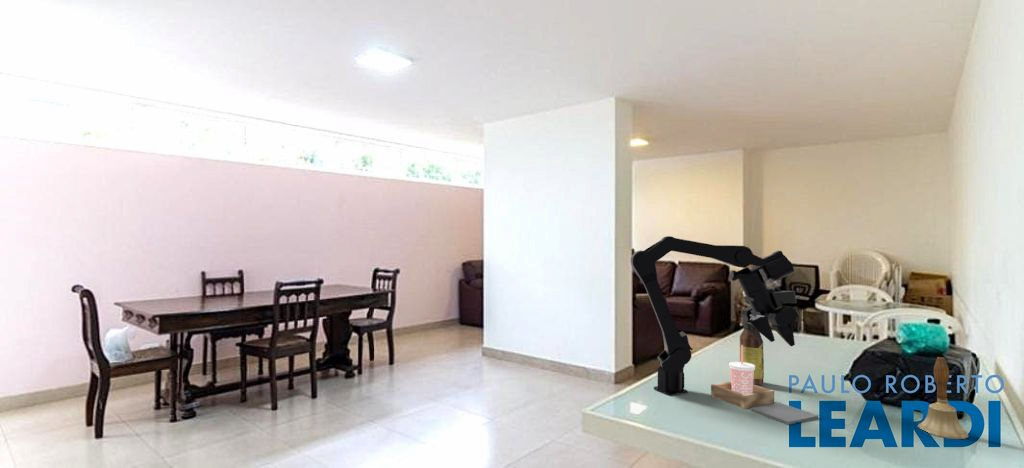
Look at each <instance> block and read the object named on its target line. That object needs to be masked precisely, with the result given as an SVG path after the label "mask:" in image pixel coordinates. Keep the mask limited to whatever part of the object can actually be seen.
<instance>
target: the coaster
mask: <svg viewBox="0 0 1024 468" xmlns="http://www.w3.org/2000/svg"><path fill="white" fill-rule="evenodd" d="M750 411H751V412H754V413H757V414H759V415H762V416H764V417H768V418H770V419H772V420H776V421H777V422H780V423H783V424H786V425H794V424H797V423H796V422H799V423H802V422H807V421H808V422H809V421H813V420H816V419H819V415H818V414H815V413H811V412H808V411H806V410H803V409H800V408H796V407H793V406H791V405H788V404H785V403H782V402H775V403H771V404H766V405H760V406H755V407H750Z"/></svg>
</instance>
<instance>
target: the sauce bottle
mask: <svg viewBox="0 0 1024 468" xmlns="http://www.w3.org/2000/svg"><path fill="white" fill-rule="evenodd" d="M761 335H762V334H761V333H760V332H759V331H758V330H756V329H755V328H754V327H753V326H751V325H750V324H749V323H747V321H745V320H743V330H742V332H741V333H740V335H739V346H738V347H739V362H741V345H743V362H746V363H751V364H754V365H755V370H754V377H753V384H754V385H757V386H760V385H763V384H764V378H765V368H764V367H765V364H764V361H765V360H764V359H765V358H764V356H765V355H764V354H765V353H764V340H763V338H762V336H761Z"/></svg>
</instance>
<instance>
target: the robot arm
mask: <svg viewBox="0 0 1024 468" xmlns="http://www.w3.org/2000/svg"><path fill="white" fill-rule="evenodd" d="M670 252H676V253H683V254H688V255H693V256H699V257H704V258H709V259H712V260H715V261H718V262H721V263H723V264H726V265H730V266H731V267H734V268H735V267H737V268H742V269H740V270H737V271H736V270H731V271H730V275H729V277H728V280H729V281H733V282H735V281H738V282H739V285H740V287H741V290H742V291H743V292H744V294H745V295H744V296H743V299H744V301H746V302H747V301H748V302H749V306H747V307H745V308H742V309H741V312H740V316H741V318H742V320H743V321H744V320H745V321H747V323H749V324H750V325H751V326H753V327H754V328H755V329H756V330H758V331H759V332H760V335H762V336H763V337H765V339H767V340H768V341H769V342H770V343H773V342H775V341H776V340H775V335H774V333H773V330H774V331H775V332H776V333H777V334H778V335H779V336H780V337H781V339H783V341H784V342H786V344H787V345H789V346H790V347H793V346H795V345H796V342H795V336H794V328H793V327H794V323H795V322H796V320H797V319H798V318H799V317H800V313H799V311H798V309H797V307H793V306H789V305H788V306H787V305H783V304H797V297H796V291H795V290H781V288H780V287H772V288H768V285H767V283H766V281H768V280H769V281H770V282H771V283H773V282H776V281H778V280H780V279H783V278H785V277H788V276H790V275H793V274H794V273H795V268H794V265H793V264H792V262H791V261H790V260H789V258H787V256H786V255H784V254H783V252H782V250H776V251H774V252H772V253H771V254H768V255H766V256H764V257H761V256H758V255H756V254H754V253H753V251H752V249H751V248H750V247H748V246H746V245H733V244H732V245H723V244H722V245H718V244H717V245H716V244H711V243H704V242H700V241H699V242H698V241H693V240H688V239H683V238H677V237H674V236H669V235H667V236H663V238H661V239H660V240H659V241H657V242H655V243H653V244H652V245H650V246H649V247H647V248H646V249H645V250H641V249H640V250H637V251H635V252H634V253H633V254H632V255H631V258H630V265H631V267H632V268H633V270H634V271H635V273H636V276H637V277H638V279H640V280H641V282H642V284H643V286H644V288H645V290H646V293H647V296H648V299H649V301H650V304H651V306H652V308H653V311H654V313H655V317H656V319H657V321H658V324H659V327H660V330H661V333H662V338H663V345H664V350H663V351H662V352H661V353H660V354H659V355H657V360H658V363H659V365H660V366H658V367H657V385H656V386H653V389H654V390H656V391H659V392H661V393H664V394H666V395H668V396H673V395H678V394H685V393H688V389H685V373H684V368H685V365H687V364H688V363H690V362H691V359H692V351H693V349H694V348H693V347H691V346H690V345H691V344H690V343H689V337H688V335H687V334H686V333H685V332H684V330H683V331H680V332H679V330H678V328H677V327H676V324H675V321H674V319H673V316H672V313H671V310H670V309H669V306H668V303H667V300H666V299H665V295H664V294H663V291H662V288H661V286H660V284H659V281H658V274H657V273H658V272H657V268H656V267H657V266H656V263H657V262H658V261H660V260H661V259H662V258H664V257H665V256H666V255H667V254H669V253H670ZM750 265H751V266H754V267H752V268H749V266H750ZM770 324H771V325H770ZM772 329H773V330H772Z"/></svg>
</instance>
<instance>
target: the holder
mask: <svg viewBox="0 0 1024 468" xmlns="http://www.w3.org/2000/svg"><path fill="white" fill-rule="evenodd" d="M710 390H711V391H710V397H713V398H714V399H718V400H719V401H723V402H726V403H729V404H731V405H734V406H737V407H738V408H739V407H740V408H742V409H749V408H754V407H759V406H765V405H770V404H775V390H772V389H769V388H766V387H763V386H760V385H754V384H753V392H752V393H749V394H741V393H738V392H735V391H732V385H731V381H727V382H720V383H712V384H710Z"/></svg>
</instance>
